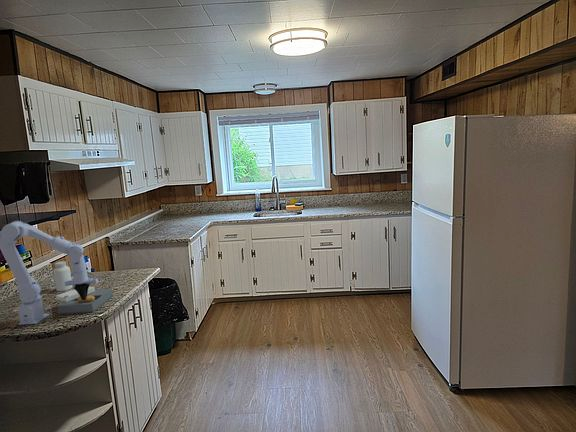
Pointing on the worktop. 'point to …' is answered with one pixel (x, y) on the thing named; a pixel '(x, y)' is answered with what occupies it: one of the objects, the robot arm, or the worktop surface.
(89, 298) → the tan capsule pill
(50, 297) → the worktop surface
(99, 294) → the gray storage bin
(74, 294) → the cover
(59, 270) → the pill bottle
